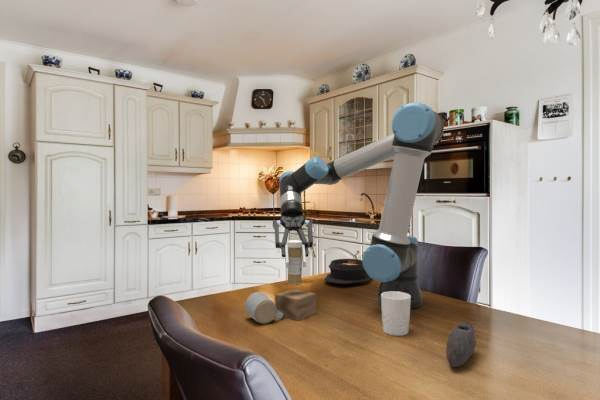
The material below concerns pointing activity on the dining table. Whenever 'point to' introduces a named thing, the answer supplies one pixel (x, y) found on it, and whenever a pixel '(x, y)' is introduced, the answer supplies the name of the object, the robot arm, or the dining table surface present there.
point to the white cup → (395, 312)
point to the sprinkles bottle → (294, 262)
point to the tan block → (296, 304)
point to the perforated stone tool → (460, 344)
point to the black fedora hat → (347, 272)
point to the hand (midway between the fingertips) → (295, 264)
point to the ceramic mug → (262, 308)
